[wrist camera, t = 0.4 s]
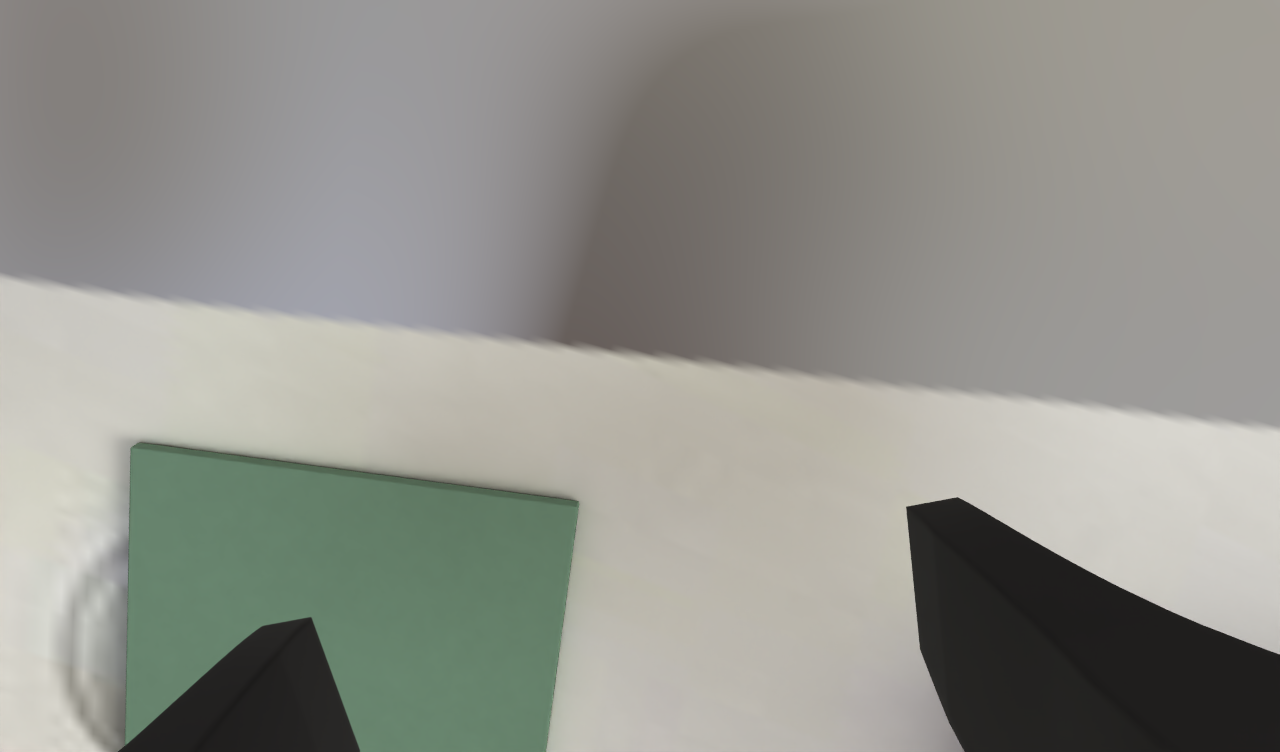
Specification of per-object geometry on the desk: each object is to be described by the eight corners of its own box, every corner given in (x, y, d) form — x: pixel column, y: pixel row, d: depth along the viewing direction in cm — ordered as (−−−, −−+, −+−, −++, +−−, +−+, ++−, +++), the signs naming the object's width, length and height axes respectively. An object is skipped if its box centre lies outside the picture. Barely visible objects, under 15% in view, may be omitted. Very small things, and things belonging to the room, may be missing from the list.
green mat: (529, 870, 25) (527, 882, 25) (130, 821, 25) (122, 832, 24) (579, 500, 23) (578, 507, 22) (138, 441, 22) (129, 446, 22)
